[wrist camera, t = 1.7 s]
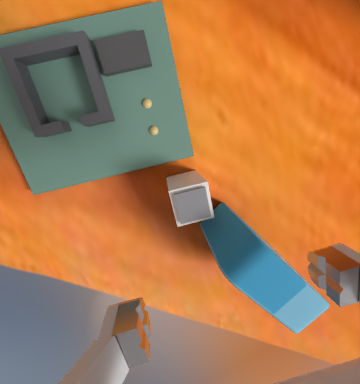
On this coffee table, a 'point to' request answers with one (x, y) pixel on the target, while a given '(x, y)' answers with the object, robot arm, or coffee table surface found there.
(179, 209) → the plug
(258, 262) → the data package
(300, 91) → the coffee table surface
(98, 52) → the board
